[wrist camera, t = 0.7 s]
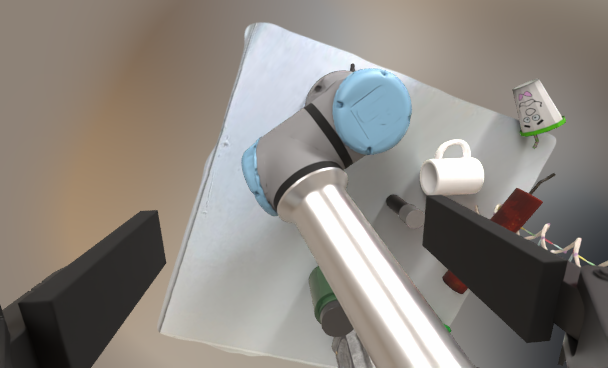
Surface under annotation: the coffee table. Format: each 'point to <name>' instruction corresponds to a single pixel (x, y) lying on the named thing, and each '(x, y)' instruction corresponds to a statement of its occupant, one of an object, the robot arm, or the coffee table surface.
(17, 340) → the robot arm
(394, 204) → the flashlight
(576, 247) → the dna model
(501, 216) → the firecracker
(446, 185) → the mug
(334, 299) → the bottle
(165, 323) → the coffee table surface
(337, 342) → the figurine
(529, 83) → the cup
